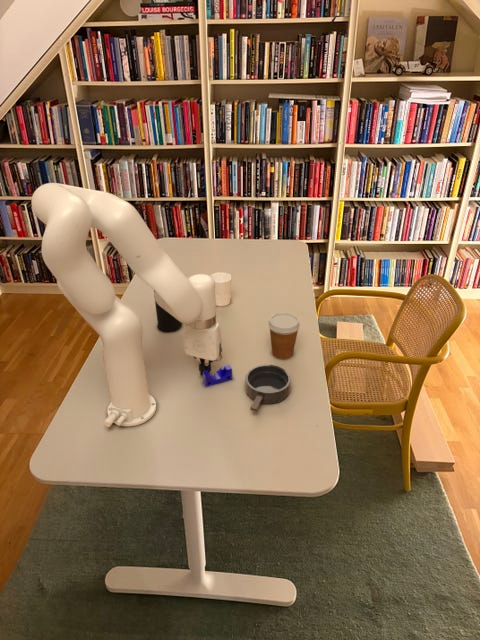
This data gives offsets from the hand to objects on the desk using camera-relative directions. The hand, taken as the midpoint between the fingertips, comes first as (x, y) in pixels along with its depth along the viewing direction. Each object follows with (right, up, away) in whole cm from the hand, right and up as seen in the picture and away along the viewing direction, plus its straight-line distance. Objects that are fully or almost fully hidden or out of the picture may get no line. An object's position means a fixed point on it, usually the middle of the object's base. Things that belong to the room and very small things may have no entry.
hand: (205, 373), depth 139 cm
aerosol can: (-14, +13, +23) cm, 30 cm away
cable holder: (+3, -2, -1) cm, 4 cm away
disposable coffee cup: (+23, +5, +9) cm, 25 cm away
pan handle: (+15, -6, -13) cm, 21 cm away
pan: (+18, -4, -5) cm, 19 cm away
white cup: (+3, +22, +37) cm, 43 cm away
